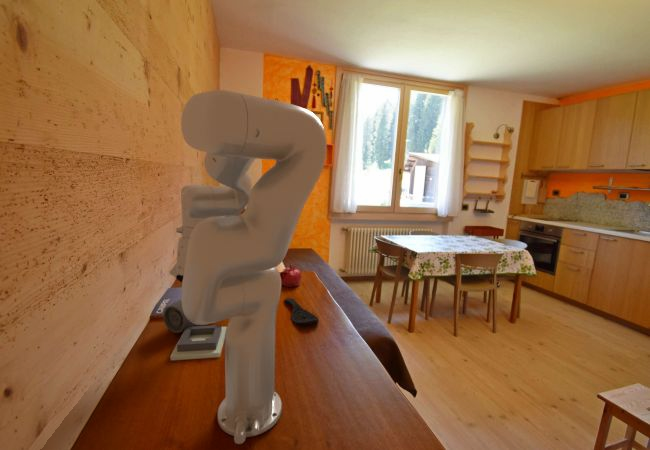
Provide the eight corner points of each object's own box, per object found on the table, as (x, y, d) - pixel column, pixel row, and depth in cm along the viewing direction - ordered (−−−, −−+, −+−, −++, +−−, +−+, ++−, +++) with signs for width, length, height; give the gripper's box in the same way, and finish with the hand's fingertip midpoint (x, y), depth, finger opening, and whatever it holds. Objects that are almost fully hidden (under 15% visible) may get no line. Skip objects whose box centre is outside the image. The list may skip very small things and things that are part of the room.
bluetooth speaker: (218, 306, 110) (213, 279, 109) (238, 307, 107) (234, 279, 106) (164, 336, 89) (158, 303, 88) (188, 338, 86) (182, 304, 85)
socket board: (219, 357, 79) (219, 345, 79) (170, 360, 77) (170, 348, 76) (227, 330, 93) (226, 320, 92) (185, 332, 90) (185, 322, 90)
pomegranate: (301, 281, 139) (302, 261, 137) (301, 288, 129) (302, 267, 128) (279, 280, 138) (280, 260, 137) (277, 288, 128) (278, 266, 127)
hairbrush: (296, 291, 119) (324, 315, 97) (296, 300, 119) (324, 326, 97) (276, 294, 115) (300, 320, 93) (276, 303, 116) (300, 331, 94)
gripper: (158, 234, 74) (161, 304, 77) (229, 235, 78) (230, 301, 81) (168, 229, 82) (170, 292, 85) (233, 229, 85) (233, 291, 88)
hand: (199, 296), depth 83 cm, fingers closed on keyed plug, 4 cm apart
